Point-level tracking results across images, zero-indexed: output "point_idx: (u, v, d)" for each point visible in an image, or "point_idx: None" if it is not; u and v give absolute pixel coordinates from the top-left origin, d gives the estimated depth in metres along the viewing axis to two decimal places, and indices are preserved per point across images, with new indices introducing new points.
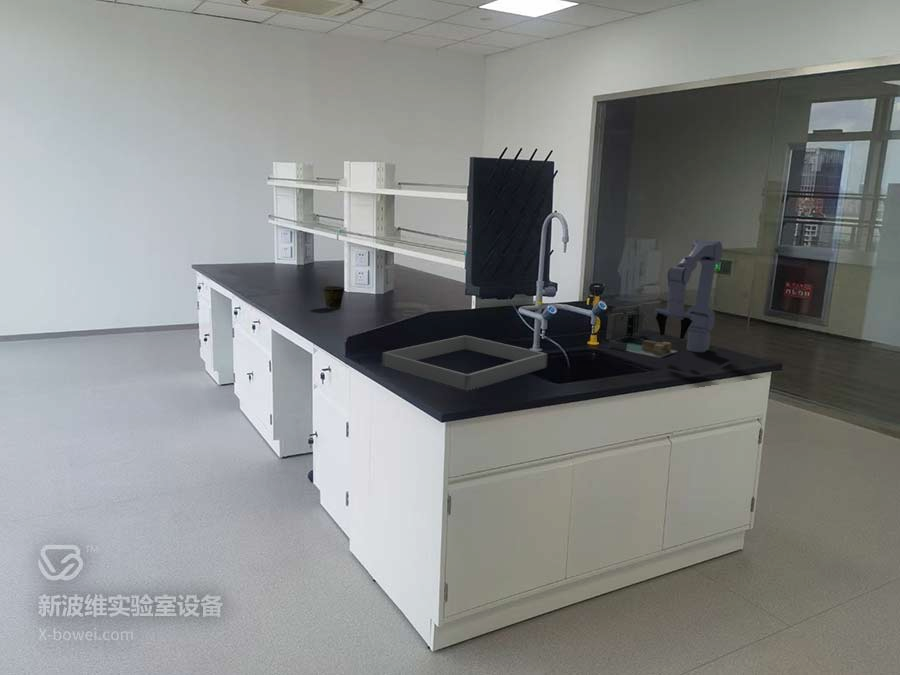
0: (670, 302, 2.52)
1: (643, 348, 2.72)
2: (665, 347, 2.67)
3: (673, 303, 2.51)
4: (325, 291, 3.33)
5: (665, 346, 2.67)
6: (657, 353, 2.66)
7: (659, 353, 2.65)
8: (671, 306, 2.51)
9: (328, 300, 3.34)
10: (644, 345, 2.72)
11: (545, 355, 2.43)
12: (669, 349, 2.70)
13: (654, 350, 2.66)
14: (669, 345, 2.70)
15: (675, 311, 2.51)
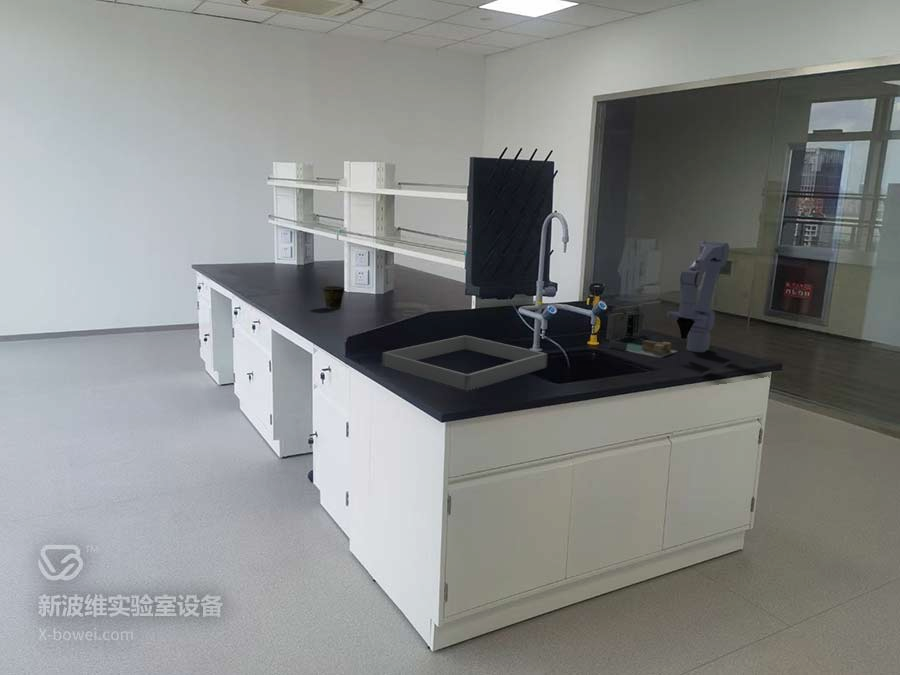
0: (682, 305, 2.58)
1: (643, 348, 2.72)
2: (665, 347, 2.67)
3: (685, 306, 2.58)
4: (325, 291, 3.33)
5: (665, 346, 2.67)
6: (657, 353, 2.66)
7: (659, 353, 2.65)
8: (684, 308, 2.58)
9: (328, 300, 3.34)
10: (644, 345, 2.72)
11: (545, 355, 2.43)
12: (669, 349, 2.70)
13: (654, 350, 2.66)
14: (669, 345, 2.70)
15: (687, 313, 2.58)
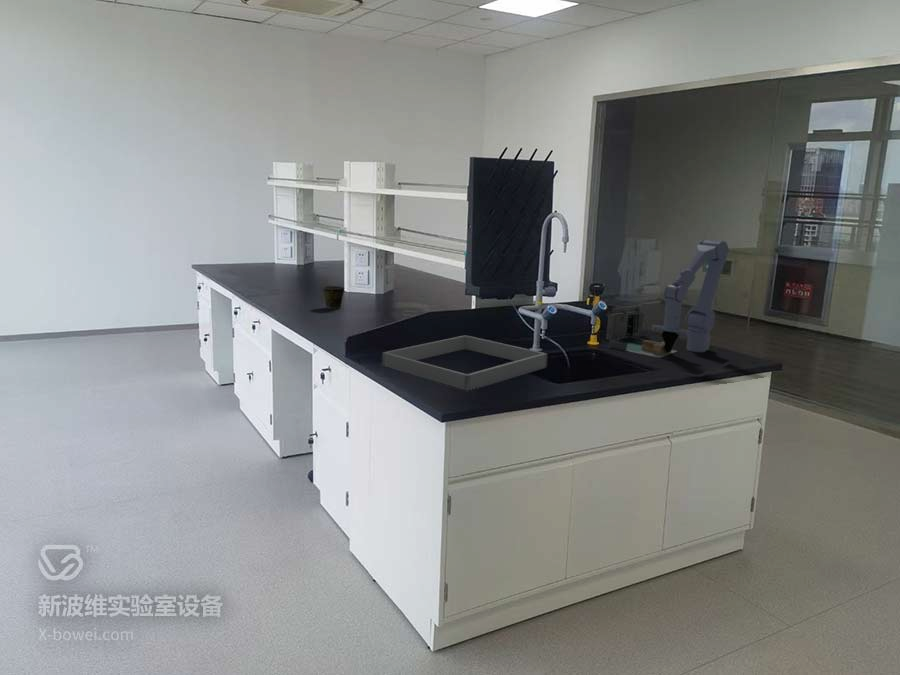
0: (667, 319, 2.63)
1: (642, 348, 2.73)
2: None
3: (669, 320, 2.63)
4: (325, 291, 3.33)
5: (664, 346, 2.67)
6: (656, 353, 2.66)
7: (658, 353, 2.65)
8: (668, 322, 2.63)
9: (328, 300, 3.34)
10: (643, 345, 2.72)
11: (545, 355, 2.43)
12: None
13: (653, 350, 2.66)
14: None
15: (671, 327, 2.63)
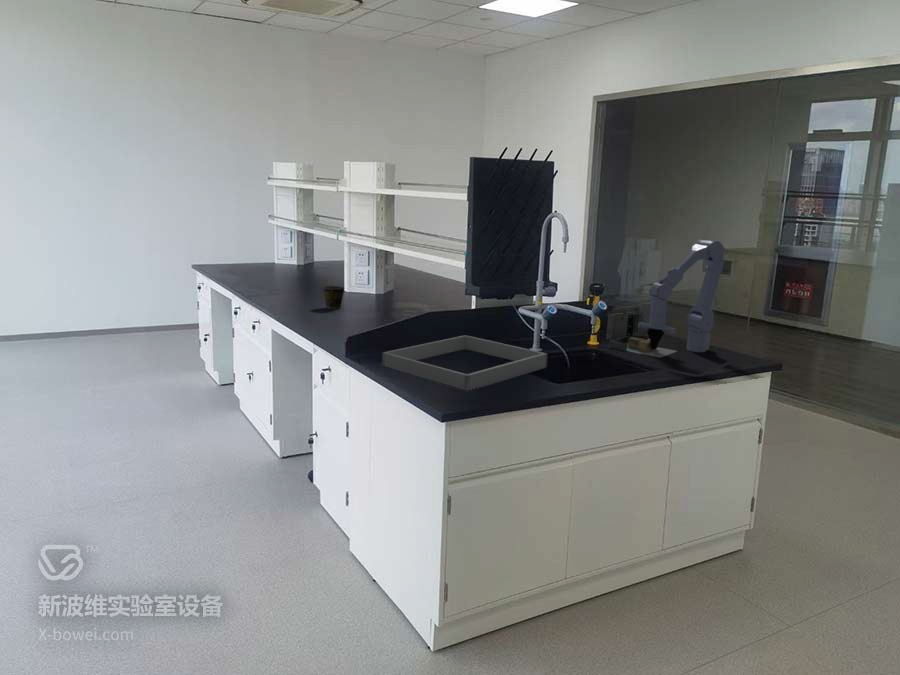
0: (652, 316, 2.67)
1: (629, 345, 2.76)
2: (650, 344, 2.71)
3: (654, 317, 2.66)
4: (325, 291, 3.33)
5: (650, 343, 2.71)
6: (642, 350, 2.70)
7: (644, 350, 2.69)
8: (653, 320, 2.67)
9: (328, 300, 3.34)
10: (629, 342, 2.76)
11: (545, 355, 2.43)
12: None
13: (639, 347, 2.70)
14: None
15: (657, 325, 2.66)
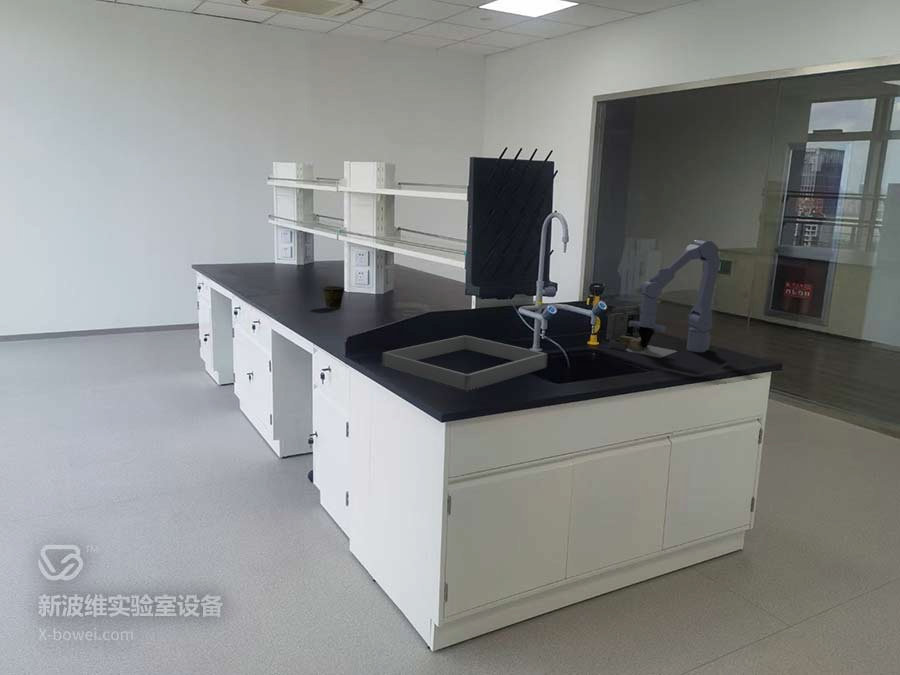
0: (642, 315, 2.69)
1: None
2: (641, 342, 2.74)
3: (645, 316, 2.69)
4: (325, 291, 3.33)
5: (641, 341, 2.73)
6: (633, 348, 2.72)
7: (635, 348, 2.71)
8: (644, 318, 2.69)
9: (328, 300, 3.34)
10: (621, 340, 2.78)
11: (545, 355, 2.43)
12: None
13: (630, 345, 2.73)
14: None
15: (647, 323, 2.69)
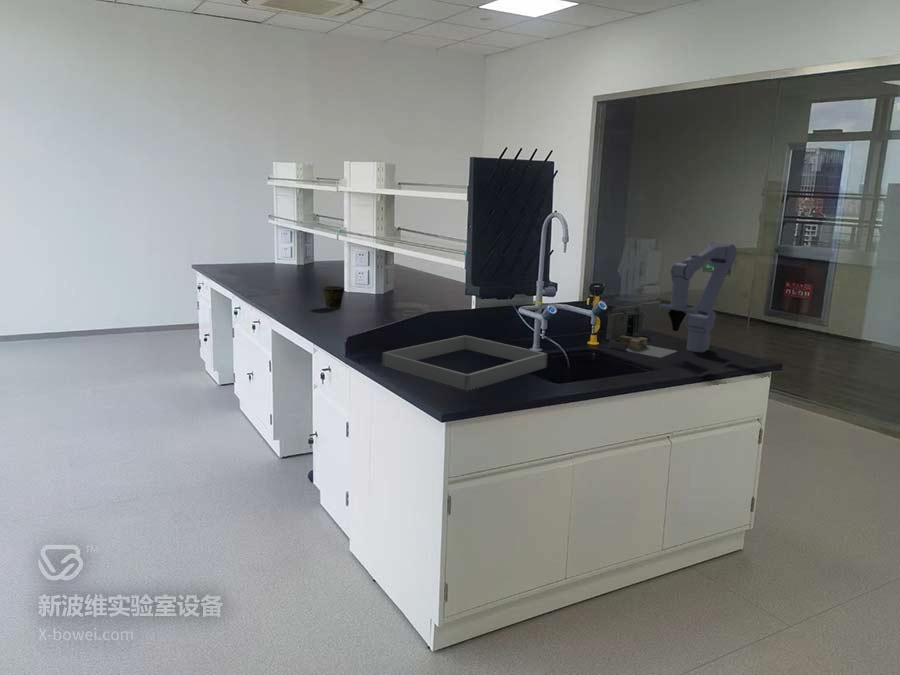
0: (674, 297, 2.61)
1: None
2: (641, 342, 2.74)
3: (676, 298, 2.61)
4: (325, 291, 3.33)
5: (641, 341, 2.73)
6: (633, 348, 2.72)
7: (635, 348, 2.71)
8: (675, 300, 2.61)
9: (328, 300, 3.34)
10: (621, 340, 2.78)
11: (545, 355, 2.43)
12: (645, 344, 2.77)
13: (630, 345, 2.73)
14: (645, 340, 2.76)
15: (678, 306, 2.61)
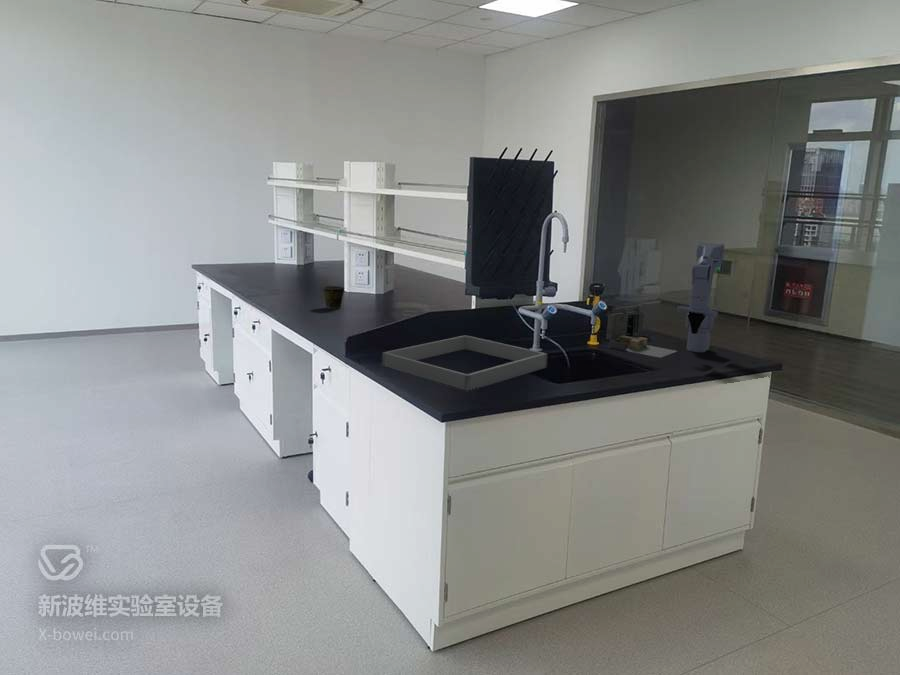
0: (693, 299, 2.57)
1: None
2: (641, 342, 2.74)
3: (695, 300, 2.57)
4: (325, 291, 3.33)
5: (641, 341, 2.73)
6: (633, 348, 2.72)
7: (635, 348, 2.71)
8: (694, 303, 2.57)
9: (328, 300, 3.34)
10: (621, 340, 2.78)
11: (545, 355, 2.43)
12: (645, 344, 2.77)
13: (630, 345, 2.73)
14: (645, 340, 2.76)
15: (698, 308, 2.57)
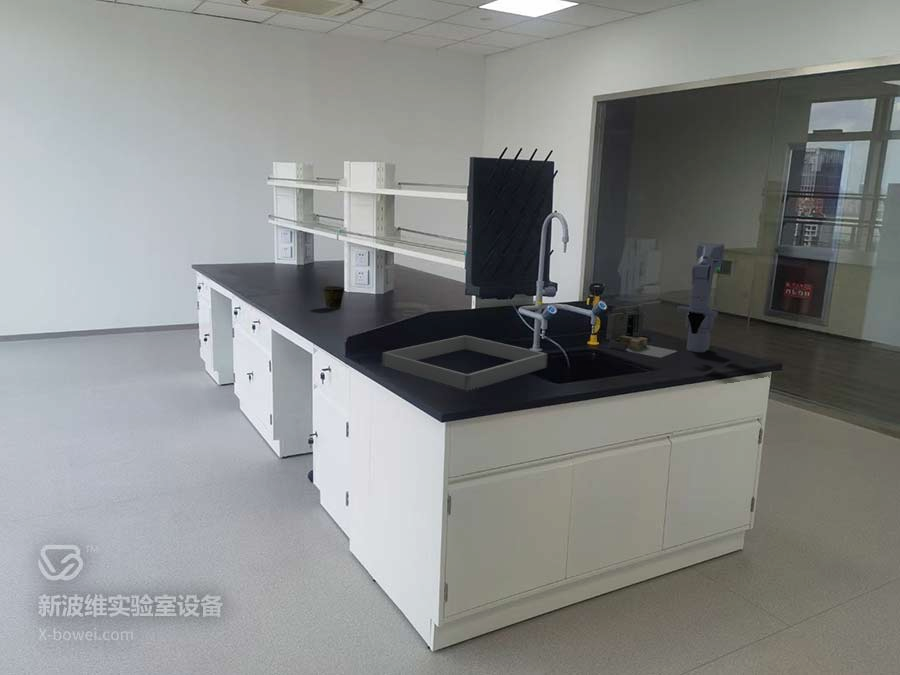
0: (693, 299, 2.57)
1: None
2: (641, 342, 2.74)
3: (695, 300, 2.57)
4: (325, 291, 3.33)
5: (641, 341, 2.73)
6: (633, 348, 2.72)
7: (635, 348, 2.71)
8: (694, 303, 2.57)
9: (328, 300, 3.34)
10: (621, 340, 2.78)
11: (545, 355, 2.43)
12: (645, 344, 2.77)
13: (630, 345, 2.73)
14: (645, 340, 2.76)
15: (698, 308, 2.57)
